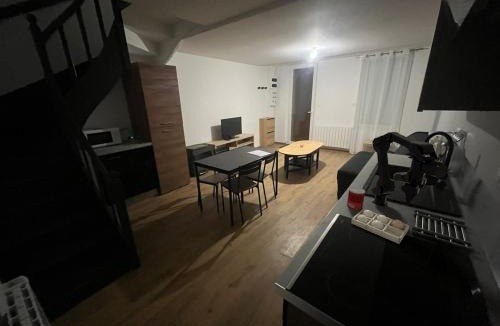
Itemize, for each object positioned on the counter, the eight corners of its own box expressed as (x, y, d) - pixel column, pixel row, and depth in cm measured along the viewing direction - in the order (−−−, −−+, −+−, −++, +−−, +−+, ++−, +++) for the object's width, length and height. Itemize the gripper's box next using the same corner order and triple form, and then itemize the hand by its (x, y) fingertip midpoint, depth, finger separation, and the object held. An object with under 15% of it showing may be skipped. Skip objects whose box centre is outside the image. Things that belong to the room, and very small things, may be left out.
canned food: (364, 211, 113) (367, 193, 109) (348, 210, 114) (351, 192, 111) (359, 204, 120) (362, 187, 117) (345, 203, 122) (347, 186, 118)
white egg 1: (358, 219, 105) (360, 211, 103) (368, 223, 101) (369, 215, 100) (354, 223, 102) (356, 215, 101) (364, 227, 99) (366, 219, 97)
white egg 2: (364, 214, 109) (365, 207, 107) (373, 218, 106) (374, 210, 104) (360, 218, 106) (361, 210, 105) (370, 221, 103) (371, 213, 101)
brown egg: (392, 225, 100) (394, 217, 99) (403, 230, 96) (405, 221, 95) (389, 228, 97) (391, 219, 96) (400, 233, 93) (403, 223, 92)
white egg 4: (377, 219, 104) (379, 212, 103) (388, 223, 101) (389, 215, 99) (374, 223, 101) (375, 215, 100) (384, 227, 98) (386, 219, 96)
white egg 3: (372, 225, 100) (374, 217, 99) (383, 229, 97) (385, 221, 95) (369, 229, 97) (370, 220, 96) (379, 233, 94) (381, 225, 92)
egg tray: (362, 213, 111) (363, 208, 110) (408, 231, 96) (409, 225, 95) (350, 224, 102) (351, 218, 101) (398, 244, 88) (400, 239, 87)
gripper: (402, 161, 106) (396, 188, 111) (391, 170, 95) (385, 200, 100) (430, 166, 98) (422, 195, 103) (421, 177, 87) (413, 209, 92)
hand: (410, 199), depth 100 cm, fingers open, 9 cm apart
